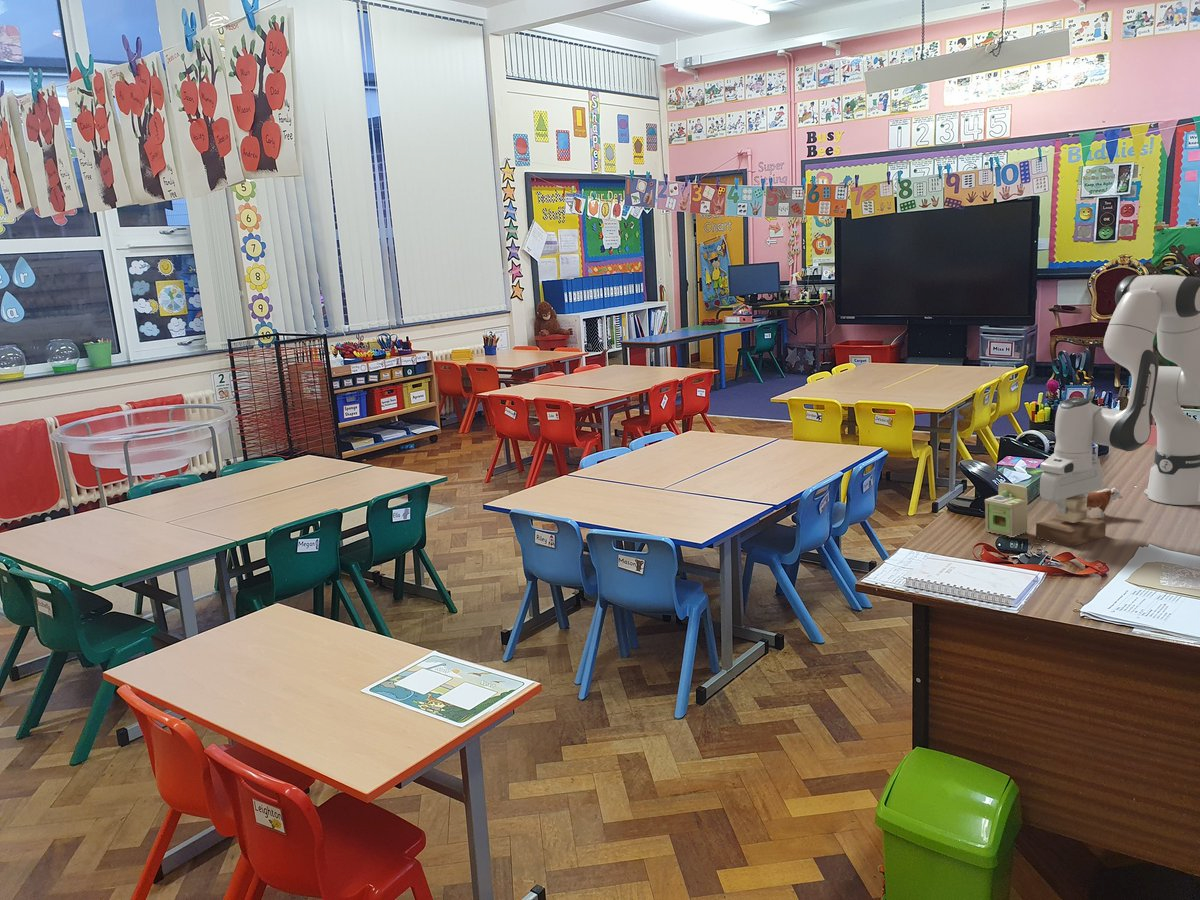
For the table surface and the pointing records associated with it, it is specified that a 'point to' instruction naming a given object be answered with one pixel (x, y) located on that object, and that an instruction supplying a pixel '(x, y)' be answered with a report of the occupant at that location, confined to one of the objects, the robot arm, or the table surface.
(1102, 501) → the bull figurine
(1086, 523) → the base block
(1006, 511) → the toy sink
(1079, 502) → the maple block
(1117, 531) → the table surface
